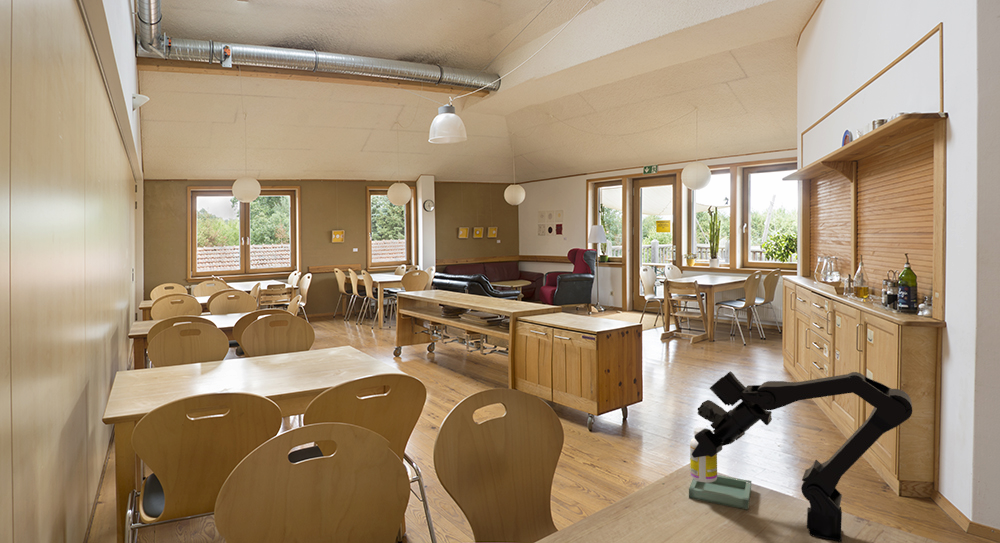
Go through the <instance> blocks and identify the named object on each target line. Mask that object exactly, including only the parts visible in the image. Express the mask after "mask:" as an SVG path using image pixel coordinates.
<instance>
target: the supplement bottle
mask: <svg viewBox="0 0 1000 543" xmlns="http://www.w3.org/2000/svg"><path fill="white" fill-rule="evenodd" d="M703 429H710V428H708V427H707V428H706V427H696V428H694V429H693V436H695V435H696V434H697V433H698V432H700V431H702V430H703ZM710 430H711V431H712V433H713V434H714V432H713V430H712V429H710ZM697 445H698V442H697V441H696V439H695V437H693V438H691V440H690V442H689V451H690V453H689V455H690V456H689V457H690V458H689V461H690V462H689V464H690V466H689V467H690V469H689V470H690V471H689V472H690V477H691V479H692V480H693V479H694V480H696V481H699V482H706V483H709V482H714V481H716V480H717V475H718V453H717V454H716V455H714V456H713V457H710V456H702V457H696V458H694V457H693V456H692V453H693V451H694V450H695V448H696V446H697Z"/></svg>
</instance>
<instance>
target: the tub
mask: <svg viewBox="0 0 1000 543" xmlns="http://www.w3.org/2000/svg"><path fill="white" fill-rule="evenodd" d="M736 479H737V480H736ZM746 482H748V483H746ZM749 483H750V484H749ZM751 492H752V480H748V479H741V478H737V477H733V476H732V477H731V476H726V475H720V474H717V480H716V481H714V482H709V483H706V482H699V481H696V480H694V479H693V478H692V479H691V482H690V485H689V487H688V499H690V500H691V499H692V500H697V501H703V502H707V503H712V504H716V505H721V506H726V507H731V508H735V509H737V508H738V509H743V510H746V511H747V510H749V504H750V500H751Z"/></svg>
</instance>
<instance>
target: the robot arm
mask: <svg viewBox="0 0 1000 543" xmlns="http://www.w3.org/2000/svg"><path fill="white" fill-rule="evenodd" d="M709 390H711V392H712V393H713V394H714V395H715V396H716V397H717V399H719V400H720V401H721V402H722V403H723V404H724V405H725V406H726V405H727V406H732V407H733V406H735V405H736V404H737V403H738V402H739V401H740V400H741V402H740V403H739V404H737V405H736V406H735V407H734V408H732V409H730V410H728V411H726V410H725V409H724V408H723V407H721V406H720V405H718V404H717V403H716V402H714V401H712V400H710V399H707V400H705V401H703V402H701V404H700V406H698V407H697V415H698V416H700V417H701V418H703V419H705V420H706V421H709V422H710V426H711V428H712V429H713V430H712V429H711V430H712V431H713V433H712V431H711V430H710V428H708V429H703V430H702V431H700V432H698V433H697V434H696V435H693V438H695V439H696V441H697V442H698V445H697V446H696V448H695V450H694V451H693V453H692V456H693V457H694V458H696V457H702V456H710V457H713V456H714V455H716V454H717V455H718V453H720V452H721V451H722V450H723V446H728V445H731V444H733V443H735V441H738V440H739V439H741V438H742V437H743V436H745V434H746V431H748V430H750V429H751V428H752V426H754V425H755V424H756V423H758V422H759V421H761V422H762V423H763V424H764V425H765V426H769V424H770V423H771V422H772V419H773V418H772V411H773V410H777V409H780V408H782V407H783V408H784V407H786V406H788V405H790V404H792V403H795V402H799V401H803V400H812V399H818V398H825V397H832V396H838V395H839V396H840V395H845V394H847V395H848V394H854V395H856V396H858V397H859V398H861V399H862V400H864V401H865V402H866V403H867V404H869V405H870V406H872V407H873V409H872V410H871V413H870V415H869V416H868V418H866V420H865V421H863V423H862V424H861V425H860V426H858V428H857V430H855V432H853V434H851V436H850V437H849V438H848V439H847V440H846V441H845V442H844V443H843V444H842V445H841V446H840V447H839V448H838V449H837V450H836V451H835V453H834V454H833V455H832V456H831V457H829V459H827V460H826V461H823V462H822V463H821V462H819V460H817V459H815V460H814V461H813V463H812V465H811V466H810V467H809V468H807V469H805V470H804V473H803V476H802V480H801V481H803V482H802V485H801V488H800V489H801V494H802V495H803V497H804V498H805V499H806V500H807V501H808V502H809V506H810V507H808V506H807V510H806V513H807V515H806V529H808V531H809V536H812V537H816V538H821V539H826V540H831V541H834V542H843V538H842V537H843V536H842V523H843V522H842V521H843V520H842V519H843V518H842V517H843V514H842V513H843V509H842V507H841V504H842V498H843V495H842V493H840V491H839V490H838V489H837V488H836V487H837V485H838V484H839V483H840V480H841V478H842V476H843V475H844V474H845V473H846V472H848V470H849V469H850V468H851V467H852V466H853V465H854V464H855V463H856V462H857V461H858V460H859V459H860V458H861V457H862V456H863V455H864V454H865V453H866V452H867V451H868V450H869V449H870V448H871V447H872V446H873V445H874V444H875V442H877V441H878V440H879V439H880V438H881V437H882V436H883V434H885V433H887V432H889V431H892V430H893V429H895V428H897V427H898V426H900V425H902V424H903V423H904V422H906V421H907V420H909V419H910V418H911V416H912V414H913V402H912V398H911V396H910V395H909V394H908V393H907V392H906V391H904V390H902V389H899V388H891V387H889V386H887V385H885V384H883V383H881V382H879V381H877V380H875V379H871V378H869V377H868V376H865V375H864V374H862V373H861V372H857V371H853V372H849V373H845V374H840V375H834V376H828V377H821V378H815V379H808V380H802V381H796V382H795V381H793V382H792V381H783V380H778V381H777V380H769V381H765V382H763V383H761V384H758V385H757V384H755V385H754V384H753V385H752V384H749V385H747V386H745V385H744V384H743V383H742V382H741V381H740V379H738V378H737V377H736V375H735V374H734V373H733V372H732V371H729V372H727V373H726V374H725V375H723V376H722V377H720V378H719V379H718V380H717V381H716V382H714V383H713V384H712V385H711V386H710V387H709Z"/></svg>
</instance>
